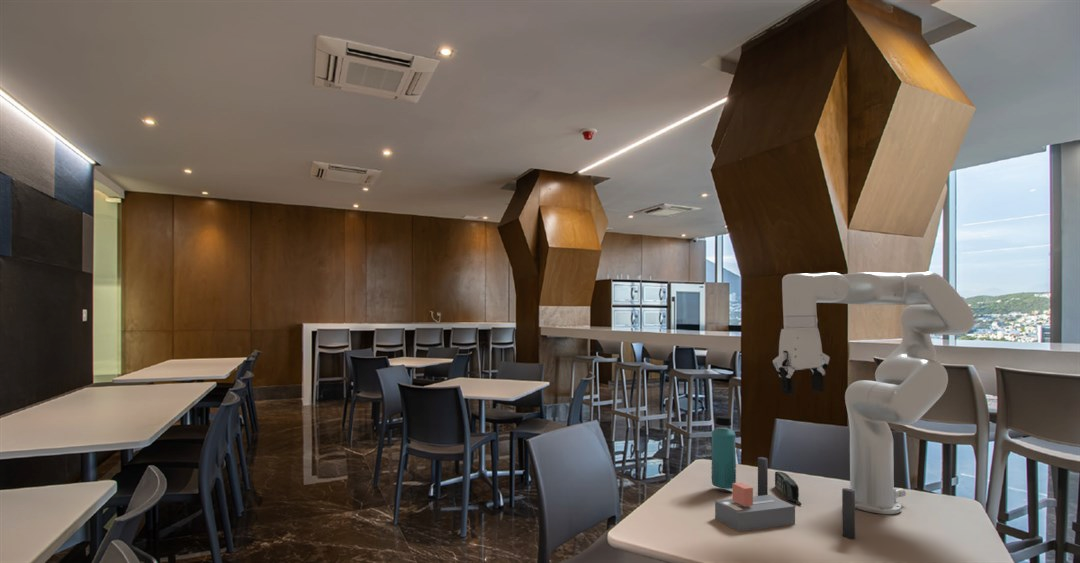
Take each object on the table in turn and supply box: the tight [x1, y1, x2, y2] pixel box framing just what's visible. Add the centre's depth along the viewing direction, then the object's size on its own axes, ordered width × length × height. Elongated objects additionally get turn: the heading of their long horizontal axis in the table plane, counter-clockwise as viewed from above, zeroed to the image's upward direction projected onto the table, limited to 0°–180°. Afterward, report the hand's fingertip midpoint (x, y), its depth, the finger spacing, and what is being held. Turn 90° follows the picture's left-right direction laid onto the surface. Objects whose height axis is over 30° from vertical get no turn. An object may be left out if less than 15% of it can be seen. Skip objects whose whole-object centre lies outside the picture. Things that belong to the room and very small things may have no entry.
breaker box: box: [714, 494, 796, 532], centre depth 125 cm, size 16×8×4 cm, turn 109°
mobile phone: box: [774, 471, 802, 506], centre depth 143 cm, size 5×3×15 cm
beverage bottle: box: [710, 415, 737, 490], centre depth 146 cm, size 6×7×20 cm
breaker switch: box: [731, 481, 754, 507], centre depth 124 cm, size 2×4×4 cm, turn 19°
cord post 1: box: [757, 456, 769, 496], centre depth 142 cm, size 2×2×10 cm
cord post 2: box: [841, 487, 856, 540], centre depth 117 cm, size 2×2×10 cm
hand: (803, 392), depth 133 cm, fingers open, 9 cm apart
